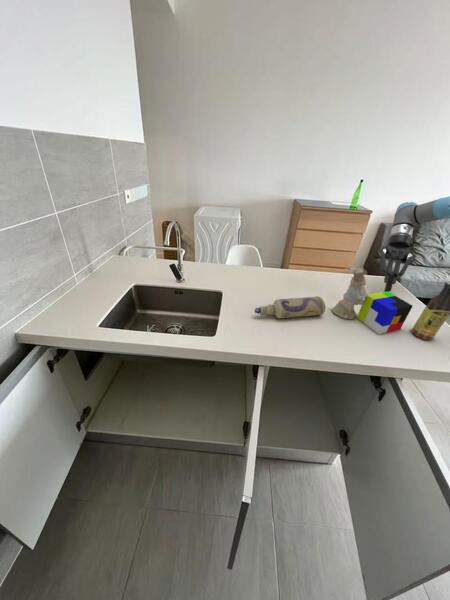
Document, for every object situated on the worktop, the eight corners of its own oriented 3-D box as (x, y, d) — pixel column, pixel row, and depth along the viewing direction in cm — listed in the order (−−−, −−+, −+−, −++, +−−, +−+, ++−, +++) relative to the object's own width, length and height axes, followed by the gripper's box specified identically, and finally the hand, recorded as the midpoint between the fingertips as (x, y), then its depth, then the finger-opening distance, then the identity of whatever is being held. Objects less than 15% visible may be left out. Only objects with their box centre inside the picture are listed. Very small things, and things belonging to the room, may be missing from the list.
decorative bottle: (313, 307, 96) (317, 292, 92) (323, 318, 89) (328, 303, 86) (250, 311, 91) (252, 296, 87) (256, 323, 85) (258, 307, 81)
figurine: (338, 320, 89) (356, 270, 78) (328, 307, 96) (343, 260, 85) (361, 320, 89) (382, 271, 79) (350, 307, 96) (367, 260, 86)
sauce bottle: (418, 340, 81) (450, 288, 71) (407, 328, 86) (435, 278, 76) (437, 341, 81) (472, 289, 71) (425, 329, 86) (456, 280, 76)
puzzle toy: (378, 334, 83) (390, 310, 78) (356, 317, 91) (366, 294, 86) (400, 329, 86) (412, 305, 81) (376, 313, 94) (387, 291, 89)
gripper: (385, 230, 99) (372, 283, 94) (423, 236, 94) (411, 292, 90) (379, 240, 106) (366, 289, 101) (414, 245, 101) (402, 297, 97)
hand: (387, 290), depth 96 cm, fingers closed
